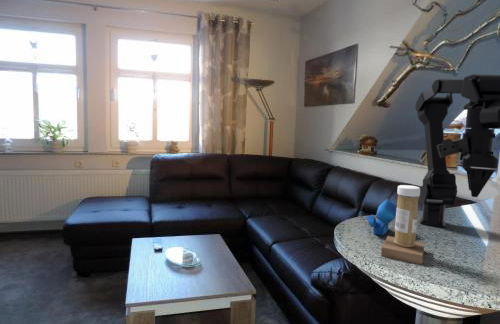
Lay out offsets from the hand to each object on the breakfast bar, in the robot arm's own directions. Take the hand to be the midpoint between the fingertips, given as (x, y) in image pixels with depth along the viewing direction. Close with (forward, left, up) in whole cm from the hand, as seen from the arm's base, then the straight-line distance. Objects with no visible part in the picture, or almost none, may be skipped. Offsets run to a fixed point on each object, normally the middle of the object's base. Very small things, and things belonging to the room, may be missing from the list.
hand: (472, 193), depth 79 cm
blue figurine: (+2, -20, -13) cm, 24 cm away
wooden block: (+15, -13, -13) cm, 24 cm away
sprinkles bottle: (+15, -13, -11) cm, 22 cm away
